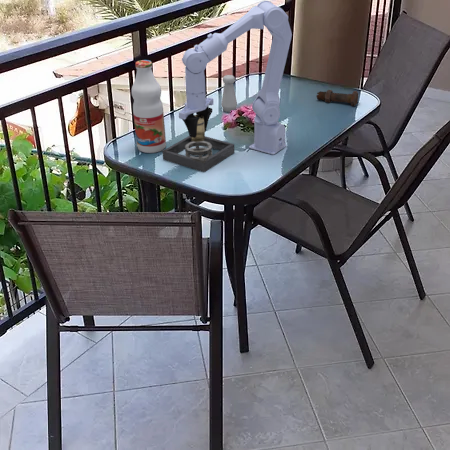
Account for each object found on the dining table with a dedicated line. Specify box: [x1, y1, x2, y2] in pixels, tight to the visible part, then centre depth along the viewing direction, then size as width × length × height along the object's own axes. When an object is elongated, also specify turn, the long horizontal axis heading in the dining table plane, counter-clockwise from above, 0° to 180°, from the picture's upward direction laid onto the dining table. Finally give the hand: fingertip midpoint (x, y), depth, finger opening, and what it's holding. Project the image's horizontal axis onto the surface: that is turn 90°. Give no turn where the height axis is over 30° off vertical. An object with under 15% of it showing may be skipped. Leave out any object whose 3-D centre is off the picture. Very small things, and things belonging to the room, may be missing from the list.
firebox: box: [161, 135, 235, 173], centre depth 185 cm, size 16×16×3 cm
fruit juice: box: [131, 59, 167, 154], centre depth 184 cm, size 9×9×28 cm
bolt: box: [316, 89, 359, 107], centre depth 221 cm, size 6×5×15 cm
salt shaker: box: [221, 74, 238, 113], centre depth 214 cm, size 6×6×13 cm
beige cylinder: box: [191, 114, 206, 142], centre depth 181 cm, size 5×5×7 cm
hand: (197, 133), depth 181 cm, fingers closed on beige cylinder, 4 cm apart
